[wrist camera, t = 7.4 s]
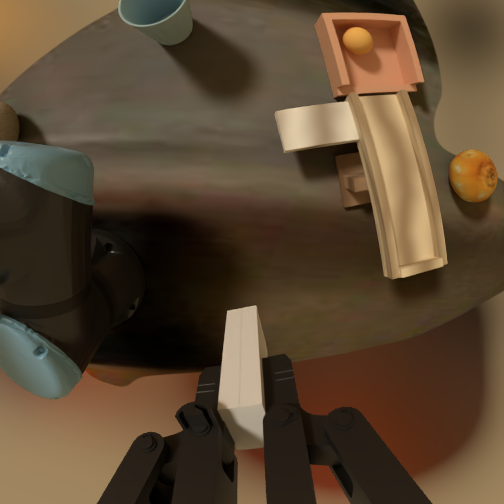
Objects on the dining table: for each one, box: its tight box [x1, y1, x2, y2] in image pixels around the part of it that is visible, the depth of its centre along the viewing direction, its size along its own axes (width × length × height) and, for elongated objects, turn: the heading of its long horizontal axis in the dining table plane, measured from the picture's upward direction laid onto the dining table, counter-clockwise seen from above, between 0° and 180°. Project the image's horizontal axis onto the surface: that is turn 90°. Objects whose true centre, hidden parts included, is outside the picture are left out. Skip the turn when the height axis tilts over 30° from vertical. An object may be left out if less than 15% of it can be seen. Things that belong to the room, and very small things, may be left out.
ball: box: [343, 27, 373, 55], centre depth 30 cm, size 4×4×4 cm
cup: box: [119, 0, 193, 45], centre depth 26 cm, size 8×8×10 cm
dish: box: [314, 13, 424, 98], centre depth 31 cm, size 12×11×4 cm
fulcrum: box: [335, 152, 371, 208], centre depth 36 cm, size 12×7×5 cm, turn 102°
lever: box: [275, 90, 447, 279], centre depth 32 cm, size 17×22×3 cm
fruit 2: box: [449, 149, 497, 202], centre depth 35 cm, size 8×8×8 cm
